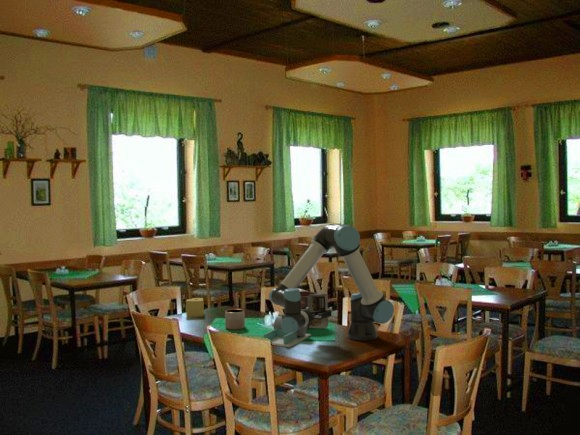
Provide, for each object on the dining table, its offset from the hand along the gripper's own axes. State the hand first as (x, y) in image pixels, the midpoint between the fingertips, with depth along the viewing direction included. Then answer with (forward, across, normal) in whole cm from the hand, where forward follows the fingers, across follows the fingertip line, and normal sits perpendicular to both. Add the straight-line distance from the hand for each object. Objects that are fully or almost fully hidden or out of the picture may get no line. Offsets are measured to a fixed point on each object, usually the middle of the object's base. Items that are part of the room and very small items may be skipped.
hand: (321, 309), depth 309 cm
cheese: (+24, -96, -16) cm, 100 cm away
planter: (+6, -56, -16) cm, 58 cm away
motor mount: (-6, -18, -16) cm, 25 cm away
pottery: (+25, -24, -16) cm, 38 cm away
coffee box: (-4, 0, -8) cm, 9 cm away
